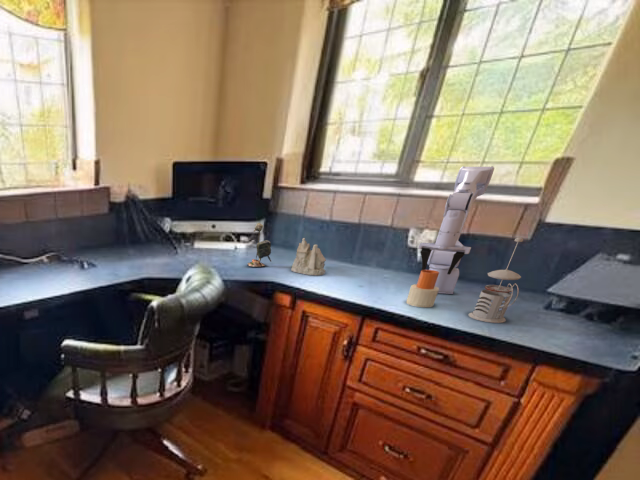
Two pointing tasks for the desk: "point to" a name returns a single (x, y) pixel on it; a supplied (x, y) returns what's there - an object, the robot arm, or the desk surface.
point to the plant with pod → (261, 249)
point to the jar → (422, 296)
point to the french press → (496, 296)
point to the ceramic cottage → (308, 260)
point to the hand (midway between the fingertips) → (435, 272)
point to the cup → (427, 279)
